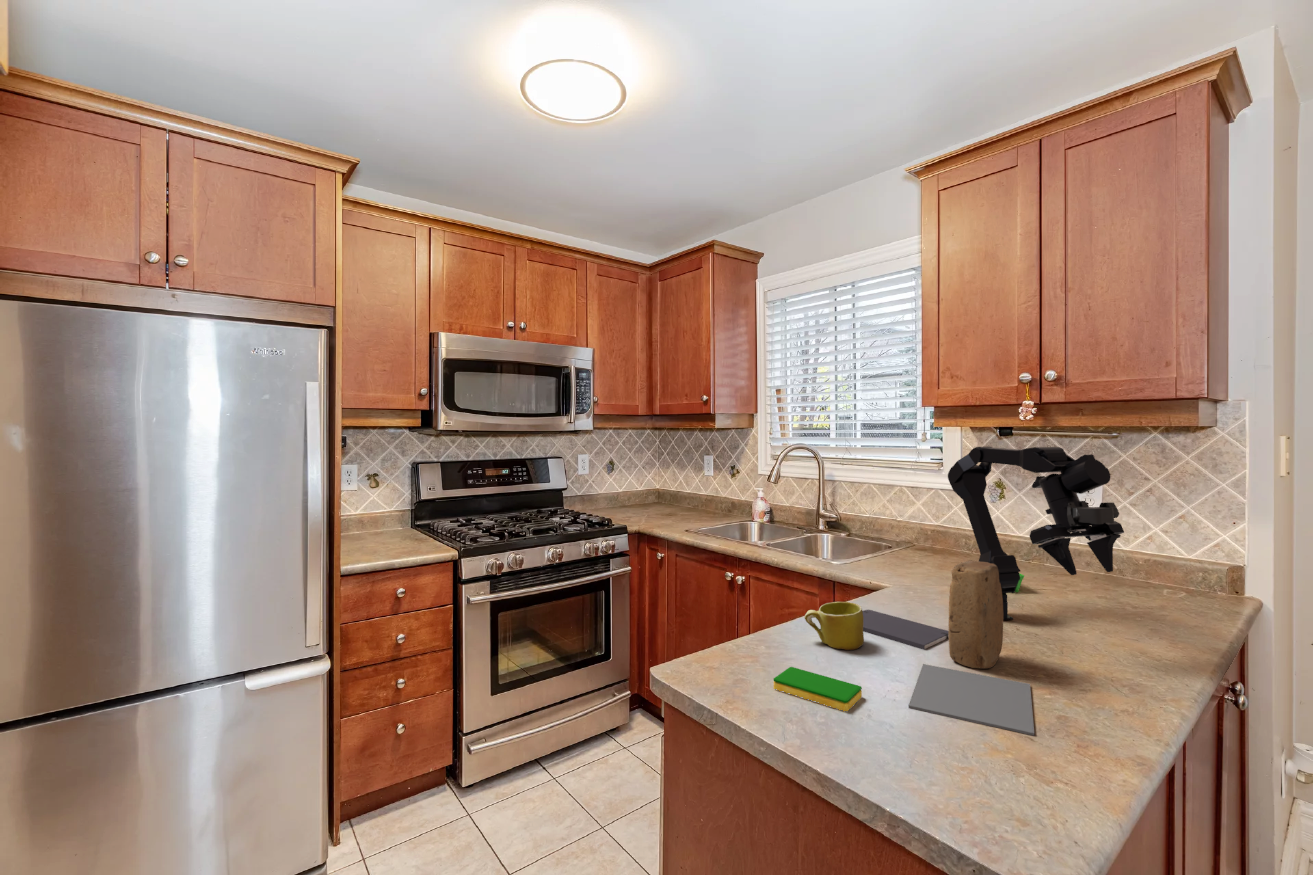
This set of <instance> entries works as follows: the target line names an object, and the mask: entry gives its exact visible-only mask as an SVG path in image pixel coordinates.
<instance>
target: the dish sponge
mask: <svg viewBox="0 0 1313 875" xmlns="http://www.w3.org/2000/svg"><path fill="white" fill-rule="evenodd" d="M774 689H777V690H779V691H778V692H780V691H784V692H786V693H785V694H787V693H790V694H793V695H797V696H799V697H803V698H804V699H803V700H806V699H809V700H812V701H816V702H819V703H820V704H819V705H821V704H825V705H827V706H826V707H828V706H831V707H833V708H832V709H834V708H837V709H839V710H838V711H840V710H843V711H842V712H844V711H848V710H849V709H850V708H851V707H852V706H853V705H854V704H855V703H856V702H857V701H858V700H859V699H860V698H861V697H862V698H863V696H862V693H863V692H862V690H863V689H862V686H861V685H858V684H856V683H855V684H854V683H851V682H847V681H844V680H841V679H836V678H832V677H829V676H826V675H822V674H818V673H815V672H811V671H807V670H804V669H802V668H797V667H794V666H789V667H788V668H786V669H785V670H783V671H782V672H780V673H779V674H778V675H776V676H775V677H773V690H774ZM777 690H776V691H777ZM790 694H789V695H790ZM793 695H792V696H793ZM799 697H798V698H799ZM862 698H861V699H862ZM861 699H860V700H861ZM809 700H808V701H809ZM860 700H859V701H860ZM812 701H811V702H812ZM859 701H858V702H859ZM858 702H857V703H858ZM857 703H856V704H857ZM856 704H855V705H856ZM825 705H824V706H825ZM855 705H854V706H855ZM854 706H853V707H854ZM831 707H830V708H831ZM853 707H852V708H853ZM852 708H851V709H852ZM837 709H836V710H837ZM851 709H850V710H851ZM850 710H849V711H850ZM849 711H848V712H849Z"/></svg>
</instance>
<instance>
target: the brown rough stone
mask: <svg viewBox="0 0 1313 875" xmlns="http://www.w3.org/2000/svg"><path fill="white" fill-rule="evenodd" d="M948 631H949V638H948V651H949V657H950V659H951V660H952V661H954V662H956V663H958V664H960V665H962V666H965V667H968V668H972V669H982V670H983V669H991V668H993V667H994V666H995V665H996V664H997V662H998V660H999V657H1000V654H1001V653H1002V650H1003V649H1002V647H1003V638H1004V635H1003V634H1004V620H1003V598H1002V588H1001V584H1000V582H999V571H998V567H997V566H996V565H995V564H992V563H988V562H980V561H979V560H978V561H977V560H973V559H972V560H967V561H963V562H961V561H960V563H957V564H956V565H955V566H954V567H952V569H951V583H950V585H949V596H948Z"/></svg>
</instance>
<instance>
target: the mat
mask: <svg viewBox="0 0 1313 875" xmlns="http://www.w3.org/2000/svg"><path fill="white" fill-rule="evenodd" d="M1032 702H1033V700H1032V693H1031V683H1027V682H1023V681H1021V682H1020V681H1017V680H1011V679H1005V678H1000V677H994V676H990V675H984V674H980V673H979V674H978V673H972V672H968V671H963V670H957V669H952V668H948V667H947V668H946V667H942V666H936V665H931V664H926V663H925V664H924V663H923V664H922V666H921V668H920V672H919V675H918V677H917V681H916V683H915V686H914V689H913V692H912V695H911V698H910V700H909V704H908V709H913V710H916V711H917V710H918V711H922V712H925V713H926V712H927V713H931V714H935V715H940V716H944V717H949V718H953V719H957V720H961V721H967V722H971V723H976V724H980V725H984V726H989V727H993V728H996V729H997V728H998V729H1001V730H1007V731H1010V732H1011V731H1012V732H1015V733H1019V734H1023V735H1024V734H1025V735H1028V736H1033V737H1034V736H1035V728H1034V726H1035V725H1034V716H1033V715H1034V714H1033V706H1032V705H1033V703H1032Z"/></svg>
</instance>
